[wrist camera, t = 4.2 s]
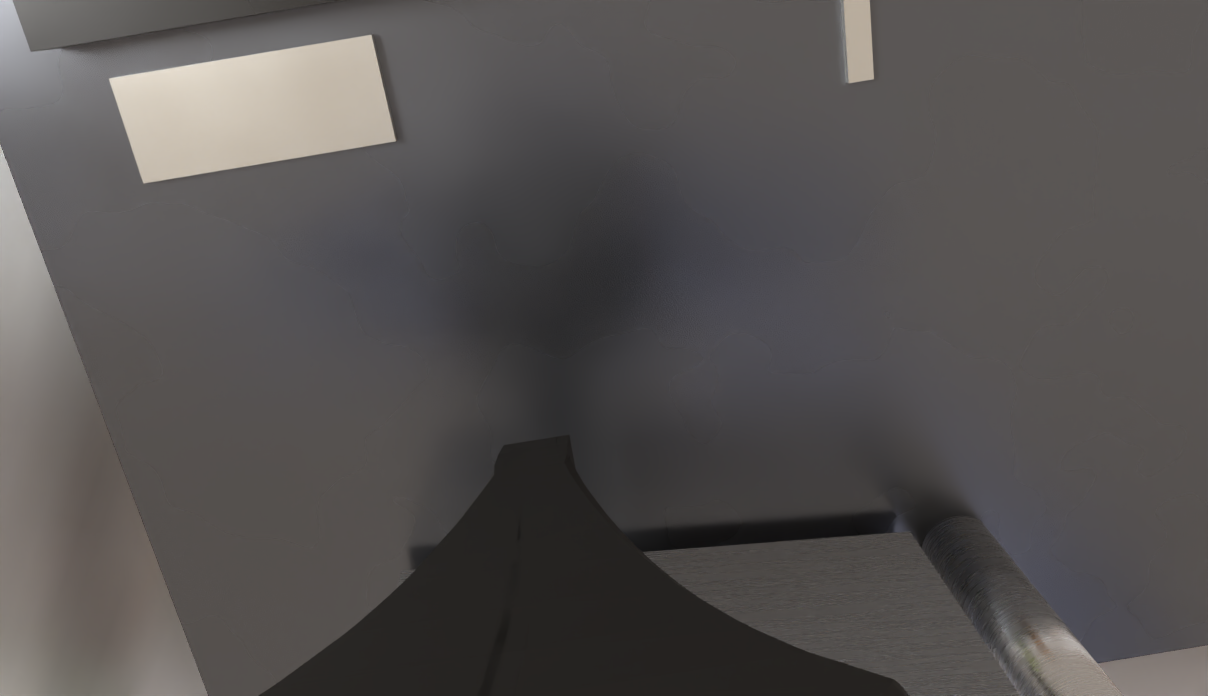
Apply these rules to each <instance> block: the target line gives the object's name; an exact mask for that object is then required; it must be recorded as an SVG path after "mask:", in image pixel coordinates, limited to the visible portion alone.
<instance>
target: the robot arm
mask: <svg viewBox="0 0 1208 696" xmlns="http://www.w3.org/2000/svg"><path fill="white" fill-rule="evenodd" d="M258 696H910V695H909V694H908V693H907V692H906V691H905V689H904V688H903V687H902V686H901V685H900V684H899V683H898V682H897V681H895V680H894V679H892V678H889V677H885V676H882V675H879V674H876V673H873V672H870V671H867V670H863V669H860V668H857V667H854V666H851V665H848V664H845V663H841V662H838V661H835V660H832V659H829V658H826V657H823V656H819V655H816V654H813V653H810V652H807V651H805V650H802V649H800V648H797V647H795V646H792V645H790V644H788V643H786V642H783V641H781V640H779V639H776V638H774V637H772V636H770V635H767V634H765V633H763V632H760V631H758V630H756V629H754V628H752V627H750V626H748V625H746V624H744V623H742V622H740V621H738V620H736V619H734V618H733V617H731V616H729V615H727V614H726V613H724V612H722V611H721V610H719V609H717V608H716V607H714V606H712V605H710V604H709V603H707V602H705V601H704V600H702V599H700V598H699V597H697V596H696V595H695V594H693V593H692V592H690V591H689V590H688V589H686V588H685V587H683V586H682V585H680V584H679V583H678V582H677V581H675V580H674V579H673V578H672V577H670V576H669V575H668V574H667V573H666V572H664V571H663V570H662V569H661V568H659V567H658V566H657V565H656V564H655V563H654V562H652V561H651V560H650V559H649V558H648V557H647V556H646V555H645V554H644V553H643V552H642V551H641V550H640V549H638V548H637V547H636V546H635V545H634V543H633V542H632V541H631V540H630V539H629V538H628V537H627V536H626V535H625V534H624V533H623V532H622V531H621V530H620V529H619V528H618V527H617V526H616V524H615V523H614V522H613V521H612V520H611V519H610V517H609V516H608V515H607V514H606V513H605V511H604V510H603V509H602V507H601V506H600V505H599V503H598V502H597V501H596V499H595V498H594V497H593V496H592V494H591V493H590V492H589V490H588V489H587V487H586V486H585V484H584V483H583V481H582V479H581V478H580V476H579V474H578V473H577V471H576V469H575V463H574V458H573V452H572V447H571V441H570V436H569V435H563V436H557V437H551V438H545V439H538V440H532V441H526V442H520V443H514V444H507V445H503V447H502V449H501V451H500V452H499V454H498V457H497V460H496V462H495V465H494V474H493V476H492V477H491V478H490V480H489V481H488V483H487V484H486V485H485V487H484V488H483V489H482V491H481V492H480V494H479V495H478V496H477V498H476V499H475V500H474V502H473V503H472V504H471V505H470V507H469V508H468V509H467V511H466V512H465V513H464V514H463V516H462V517H461V518H460V520H459V521H458V522H457V523H456V525H455V526H454V527H453V528H452V529H451V531H450V532H449V533H448V534H447V535H446V536H445V537H444V538H443V540H442V541H441V542H440V543H439V544H438V545H437V546H436V547H435V549H434V550H433V551H432V552H431V553H430V554H429V555H428V556H427V557H426V559H425V560H424V561H423V562H422V563H421V564H420V565H419V566H418V568H417V569H416V570H415V571H414V572H413V573H412V574H411V575H410V576H409V577H408V578H407V579H406V580H405V581H404V582H403V583H402V584H401V585H400V586H399V587H398V588H396V589H395V590H394V591H393V592H392V593H391V594H390V595H389V596H388V597H387V598H386V599H385V600H383V601H382V602H381V603H380V604H379V605H378V606H377V607H376V608H374V609H373V610H372V611H371V612H370V613H369V614H368V615H366V616H365V617H364V618H363V619H362V620H361V621H360V622H358V623H357V624H356V625H355V626H354V627H352V628H351V629H350V630H349V631H347V632H346V633H345V634H344V635H342V636H341V637H340V638H338V639H337V640H336V641H334V642H333V643H331V644H330V645H329V646H327V647H326V648H325V649H323V650H322V651H321V652H319V653H318V654H316V655H315V656H314V657H312V658H311V659H310V660H308V661H307V662H306V663H304V664H303V665H301V666H300V667H299V668H297V669H296V670H295V671H293V672H292V673H291V674H289V675H288V676H286V677H285V678H284V679H282V680H281V681H280V682H278V683H277V684H275V685H274V686H272V687H271V688H269V689H268V690H266V691H265V692H263V693H261V694H260V695H258Z"/></svg>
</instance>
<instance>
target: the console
mask: <svg viewBox="0 0 1208 696" xmlns="http://www.w3.org/2000/svg"><path fill="white" fill-rule="evenodd" d="M0 144H1V147H2V150H3V152H4V155H5V158H6V160H7V163H8V165H9V168H10V171H11V173H12V176H13V179H14V181H15V184H16V187H17V189H18V192H19V195H20V197H21V200H22V203H23V205H24V208H25V211H26V213H27V216H28V219H29V221H30V224H31V226H32V229H33V232H34V234H35V237H36V240H37V242H38V245H39V248H40V250H41V253H42V256H43V258H44V261H45V264H46V266H47V269H48V272H49V274H50V277H51V280H52V282H53V285H54V287H55V290H56V293H57V295H58V298H59V301H60V303H61V306H62V309H63V311H64V314H65V317H66V319H67V322H68V325H69V327H70V330H71V333H72V335H73V338H74V341H75V343H76V346H77V348H78V351H79V354H80V356H81V359H82V362H83V364H84V367H85V370H86V372H87V375H88V378H89V380H90V383H91V386H92V388H93V391H94V394H95V396H96V399H97V401H98V404H99V407H100V409H101V412H102V415H103V417H104V420H105V423H106V425H107V428H108V431H109V433H110V436H111V439H112V441H113V444H114V447H115V449H116V452H117V455H118V457H119V460H120V462H121V465H122V468H123V470H124V473H125V476H126V478H127V481H128V484H129V486H130V489H131V492H132V494H133V497H134V500H135V502H136V505H137V508H138V510H139V513H140V516H141V518H142V521H143V523H144V526H145V529H146V531H147V534H148V537H149V539H150V542H151V545H152V547H153V550H154V553H155V555H156V558H157V561H158V563H159V566H160V569H161V571H162V574H163V577H164V579H165V582H166V584H167V587H168V590H169V592H170V595H171V598H172V600H173V603H174V606H175V608H176V611H177V614H178V616H179V619H180V622H181V624H182V627H183V630H184V632H185V635H186V638H187V640H188V643H189V645H190V648H191V651H192V653H193V656H194V659H195V661H196V664H197V667H198V669H199V672H200V675H201V677H202V680H203V683H204V685H205V688H206V691H207V693H208V696H258V695H260V694H261V693H263V692H265V691H266V690H268V689H269V688H271V687H272V686H274V685H275V684H277V683H278V682H280V681H281V680H282V679H284V678H285V677H286V676H288V675H289V674H291V673H292V672H293V671H295V670H296V669H297V668H299V667H300V666H301V665H303V664H304V663H306V662H307V661H308V660H310V659H311V658H312V657H314V656H315V655H316V654H318V653H319V652H321V651H322V650H323V649H325V648H326V647H327V646H329V645H330V644H331V643H333V642H334V641H336V640H337V639H338V638H340V637H341V636H342V635H344V634H345V633H346V632H347V631H349V630H350V629H351V628H352V627H354V626H355V625H356V624H357V623H358V622H360V621H361V620H362V619H363V618H364V617H365V616H366V615H368V614H369V613H370V612H371V611H372V610H373V609H374V608H376V607H377V606H378V605H379V604H380V603H381V602H382V601H383V600H385V599H386V598H387V597H388V596H389V595H390V594H391V593H392V592H393V591H394V590H395V589H396V588H398V584H399V580H400V576H401V572H402V571H405V570H416V569H417V568H418V566H419V565H420V564H421V563H422V562H423V561H424V560H425V559H426V557H427V556H428V555H429V554H430V553H431V552H432V551H433V550H434V549H435V547H436V546H437V545H438V544H439V543H440V542H441V541H442V540H443V538H444V537H445V536H446V535H447V534H448V533H449V532H450V531H451V529H452V528H453V527H454V526H455V525H456V523H457V522H458V521H459V520H460V518H461V517H462V516H463V514H464V513H465V512H466V511H467V509H468V508H469V507H470V505H471V504H472V503H473V502H474V500H475V499H476V498H477V496H478V495H479V494H480V492H481V491H482V489H483V488H484V487H485V485H486V484H487V483H488V481H489V480H490V478H491V477H492V476H493V474H494V465H495V462H496V460H497V457H498V454H499V452H500V451H501V449H502V447H503V445H507V444H514V443H520V442H526V441H532V440H538V439H545V438H551V437H557V436H563V435H569V436H570V441H571V447H572V452H573V458H574V463H575V469H576V471H577V473H578V474H579V476H580V478H581V479H582V481H583V483H584V484H585V486H586V487H587V489H588V490H589V492H590V493H591V494H592V496H593V497H594V498H595V499H596V501H597V502H598V503H599V505H600V506H601V507H602V509H603V510H604V511H605V513H606V514H607V515H608V516H609V517H610V519H611V520H612V521H613V522H614V523H615V524H616V526H617V527H618V528H619V529H620V530H621V531H622V532H623V533H624V534H625V535H626V536H627V537H628V538H629V539H630V540H631V541H632V542H633V543H634V545H635V546H636V547H637V548H638V549H640V550H641V551H642V552H651V551H664V550H677V549H690V548H703V547H716V546H729V545H742V544H755V543H768V542H781V541H793V540H806V539H819V538H832V537H845V536H858V535H871V534H884V533H897V532H911V534H912V535H913V537H914V538H915V540H916V541H917V543H918V544H919V545H920V547H921V548H922V550H923V551H924V553H925V554H926V556H927V557H928V559H929V560H930V562H931V563H932V565H933V566H934V568H935V569H936V571H937V572H938V574H939V575H940V577H941V578H942V580H943V581H944V583H945V584H946V586H947V587H948V589H949V590H950V592H951V593H952V595H953V596H954V598H955V599H956V601H957V602H958V604H959V605H960V607H961V608H962V610H963V611H964V613H965V614H966V616H967V617H968V619H969V620H970V622H971V623H972V625H973V626H974V627H975V629H976V630H977V632H978V633H979V635H980V636H981V638H982V639H983V641H984V642H985V644H986V645H987V647H988V648H989V650H990V651H991V653H992V654H993V656H994V657H995V659H996V660H997V662H998V663H999V665H1000V666H1001V668H1002V669H1003V671H1004V672H1005V674H1006V675H1007V677H1008V678H1009V680H1010V681H1011V683H1012V684H1013V686H1014V687H1015V689H1016V690H1017V692H1018V693H1019V695H1020V696H1123V694H1122V693H1121V692H1120V691H1119V689H1118V688H1117V687H1116V686H1115V685H1114V683H1113V682H1112V681H1111V680H1110V678H1109V677H1108V676H1107V675H1106V674H1105V672H1104V671H1103V670H1102V669H1101V667H1100V666H1099V665H1098V664H1097V663H1102V662H1108V661H1114V660H1120V659H1126V658H1132V657H1138V656H1144V655H1150V654H1156V653H1162V652H1169V651H1175V650H1181V649H1187V648H1193V647H1199V646H1205V645H1208V0H0Z"/></svg>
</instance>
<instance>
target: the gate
mask: <svg viewBox="0 0 1208 696" xmlns="http://www.w3.org/2000/svg"><path fill="white" fill-rule="evenodd" d="M643 553H644V554H645V555H646V556H647V557H648V558H649V559H650V560H651V561H652V562H654V563H655V564H656V565H657V566H658V567H659V568H661V569H662V570H663V571H664V572H666V573H667V574H668V575H669V576H670V577H672V578H673V579H674V580H675V581H677V582H678V583H679V584H680V585H682V586H683V587H685V588H686V589H688V590H689V591H690V592H692V593H693V594H695V595H696V596H697V597H699V598H700V599H702V600H704V601H705V602H707V603H709V604H710V605H712V606H714V607H716V608H717V609H719V610H721V611H722V612H724V613H726V614H727V615H729V616H731V617H733V618H734V619H736V620H738V621H740V622H742V623H744V624H746V625H748V626H750V627H752V628H754V629H756V630H758V631H760V632H763V633H765V634H767V635H770V636H772V637H774V638H776V639H779V640H781V641H783V642H786V643H788V644H790V645H792V646H795V647H797V648H800V649H802V650H805V651H807V652H810V653H813V654H816V655H819V656H823V657H826V658H829V659H832V660H835V661H838V662H841V663H845V664H848V665H851V666H854V667H857V668H860V669H863V670H867V671H870V672H873V673H876V674H879V675H882V676H885V677H889V678H892V679H894V680H895V681H897V682H898V683H899V684H900V685H901V686H902V687H903V688H904V689H905V691H906V692H907V693H908V694H909V695H910V696H1020V695H1019V693H1018V692H1017V690H1016V689H1015V687H1014V686H1013V684H1012V683H1011V681H1010V680H1009V678H1008V677H1007V675H1006V674H1005V672H1004V671H1003V669H1002V668H1001V666H1000V665H999V663H998V662H997V660H996V659H995V657H994V656H993V654H992V653H991V651H990V650H989V648H988V647H987V645H986V644H985V642H984V641H983V639H982V638H981V636H980V635H979V633H978V632H977V630H976V629H975V627H974V626H973V625H972V623H971V622H970V620H969V619H968V617H967V616H966V614H965V613H964V611H963V610H962V608H961V607H960V605H959V604H958V602H957V601H956V599H955V598H954V596H953V595H952V593H951V592H950V590H949V589H948V587H947V586H946V584H945V583H944V581H943V580H942V578H941V577H940V575H939V574H938V572H937V571H936V569H935V568H934V566H933V565H932V563H931V562H930V560H929V559H928V557H927V556H926V554H925V553H924V551H923V550H922V548H921V547H920V545H919V544H918V543H917V541H916V540H915V538H914V537H913V535H912V534H911V532H897V533H884V534H871V535H858V536H845V537H832V538H819V539H806V540H793V541H781V542H768V543H755V544H742V545H729V546H716V547H703V548H690V549H677V550H664V551H651V552H643ZM414 571H415V570H405V571H402V572H401V576H400V580H399V584H398V587H399V586H400V585H401V584H402V583H403V582H404V581H405V580H406V579H407V578H408V577H409V576H410V575H411V574H412V573H413V572H414Z"/></svg>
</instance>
